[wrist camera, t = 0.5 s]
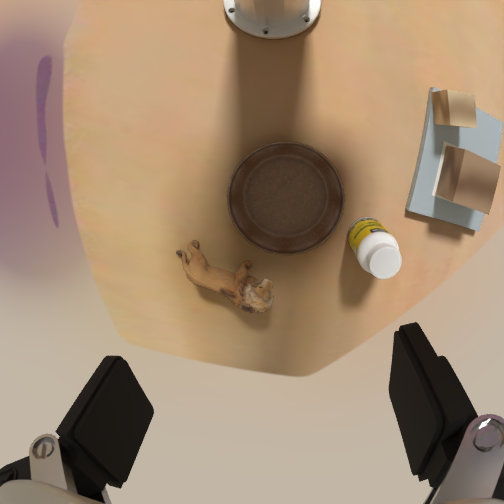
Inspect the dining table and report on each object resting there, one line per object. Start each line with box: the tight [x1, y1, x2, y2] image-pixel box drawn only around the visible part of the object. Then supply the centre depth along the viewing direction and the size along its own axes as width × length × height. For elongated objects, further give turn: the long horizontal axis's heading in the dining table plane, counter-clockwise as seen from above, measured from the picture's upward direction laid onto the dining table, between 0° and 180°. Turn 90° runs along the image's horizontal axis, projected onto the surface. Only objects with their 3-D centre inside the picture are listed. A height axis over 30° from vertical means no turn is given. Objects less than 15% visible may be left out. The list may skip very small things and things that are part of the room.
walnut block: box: [436, 146, 501, 215], centre depth 32 cm, size 7×7×5 cm
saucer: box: [227, 142, 345, 255], centre depth 38 cm, size 15×15×3 cm
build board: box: [405, 87, 503, 231], centre depth 34 cm, size 18×14×1 cm
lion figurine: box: [176, 240, 274, 314], centre depth 40 cm, size 15×5×9 cm, turn 76°
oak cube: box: [431, 90, 477, 128], centre depth 29 cm, size 4×4×4 cm
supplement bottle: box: [348, 217, 402, 279], centre depth 36 cm, size 5×5×10 cm
